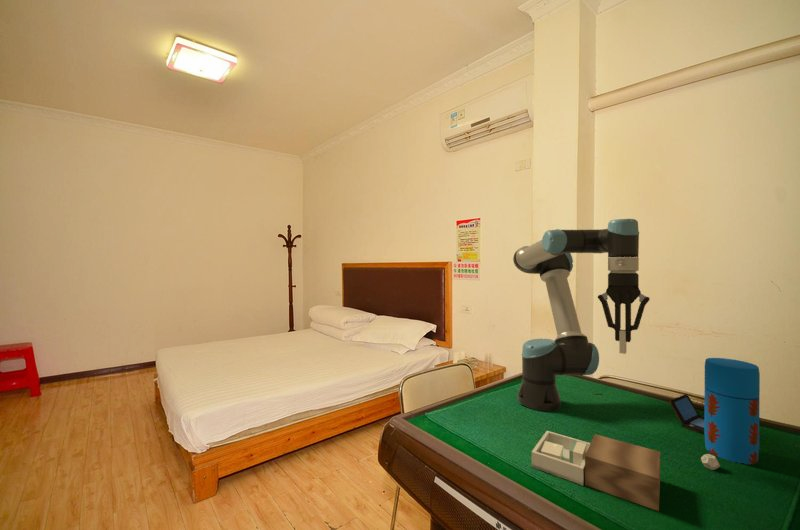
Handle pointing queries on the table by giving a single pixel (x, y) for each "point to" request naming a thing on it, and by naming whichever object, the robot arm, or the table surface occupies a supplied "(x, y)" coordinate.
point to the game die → (710, 461)
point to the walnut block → (624, 470)
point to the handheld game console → (688, 413)
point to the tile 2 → (577, 453)
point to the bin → (556, 465)
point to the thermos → (732, 409)
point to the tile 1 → (552, 450)
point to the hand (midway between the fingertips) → (622, 352)
